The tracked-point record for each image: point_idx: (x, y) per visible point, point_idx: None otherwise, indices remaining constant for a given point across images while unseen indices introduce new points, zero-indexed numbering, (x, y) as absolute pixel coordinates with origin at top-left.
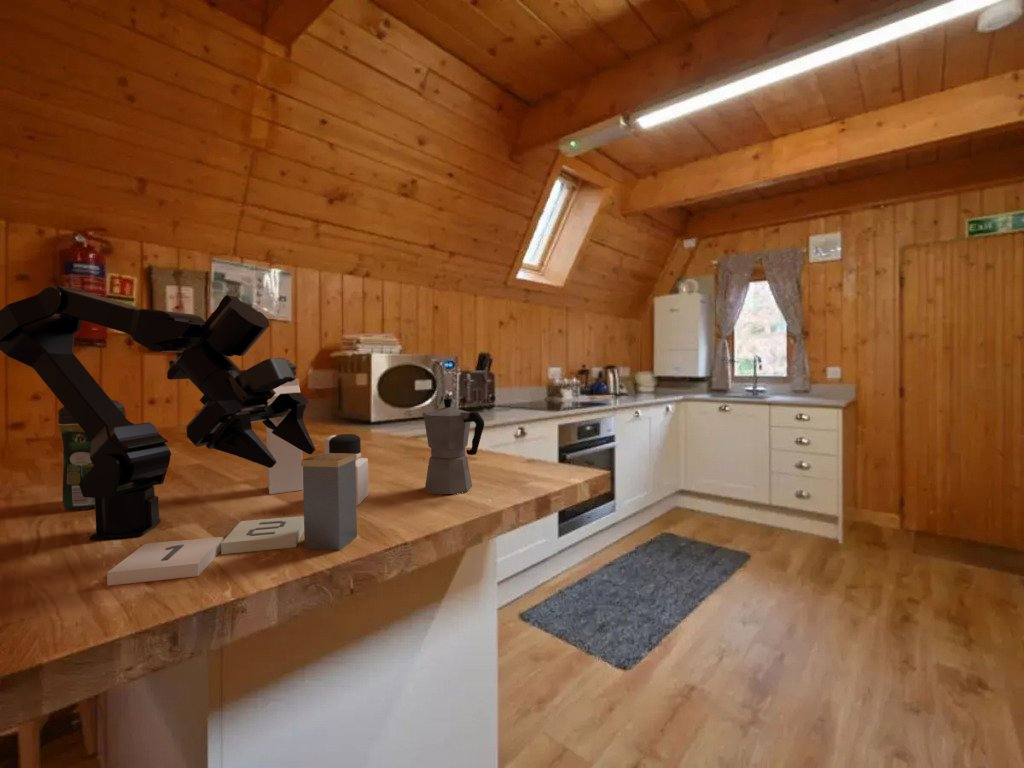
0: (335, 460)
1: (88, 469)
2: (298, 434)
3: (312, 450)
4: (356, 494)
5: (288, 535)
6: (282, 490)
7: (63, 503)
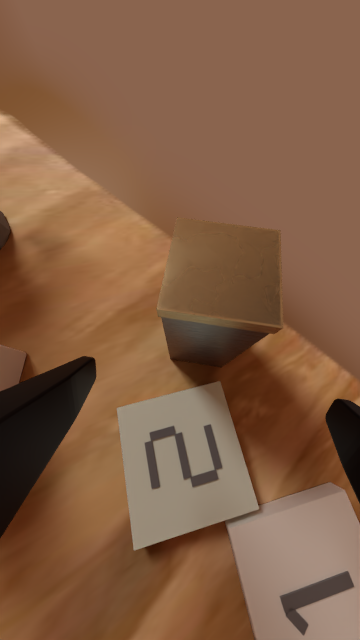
0: (273, 237)
1: None
2: (6, 452)
3: (92, 365)
4: (11, 350)
5: (217, 394)
6: None
7: None
